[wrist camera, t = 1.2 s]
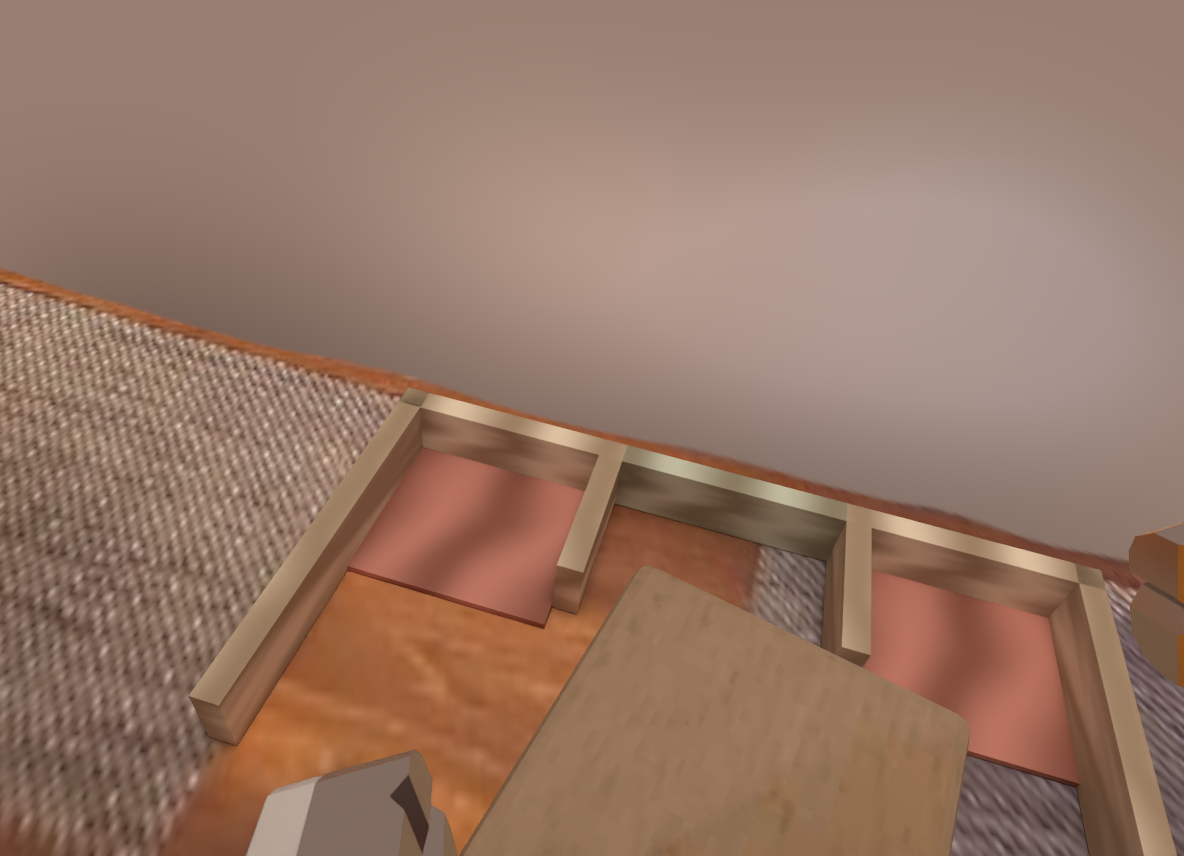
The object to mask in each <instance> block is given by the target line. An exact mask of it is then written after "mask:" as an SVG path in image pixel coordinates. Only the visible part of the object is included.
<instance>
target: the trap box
mask: <svg viewBox="0 0 1184 856" xmlns="http://www.w3.org/2000/svg"><path fill="white" fill-rule="evenodd" d="M614 504H618V505H622V506H625V507H629V508H632V509H636V510H640V511H643V512H647V513H651V514H654V515H658V516H662V517H665V518H669V519H673V520H676V521H680V522H684V523H687V524H691V525H694V526H698V527H702V528H705V529H709V530H713V531H716V532H720V533H724V534H727V535H731V536H735V537H738V538H742V539H746V540H749V541H753V542H756V543H760V544H764V545H767V546H771V547H775V548H778V549H782V550H786V551H789V552H793V553H797V554H800V555H804V556H808V557H811V558H815V559H819V560H822V561H826V574H825V591H824V608H823V624H822V641H821V648H823V649H825V650H827V651H829V652H831V653H833V654H835V655H837V656H839V657H841V658H843V659H845V660H847V661H849V662H851V663H854V664H856V665H858V666H860V667H862V668H864V669H866V670H868V671H870V672H872V673H874V674H876V675H878V676H880V677H882V678H884V679H887V680H889V681H891V682H893V683H895V684H897V685H899V686H901V687H903V688H905V689H907V690H909V691H911V692H913V693H915V694H918V695H920V696H922V697H924V698H926V699H928V700H930V701H932V702H934V703H936V704H938V705H940V706H942V707H944V708H946V709H949V710H951V711H953V712H955V713H957V714H958V715H960V716H961V717H962V718H963V719H964V720H965V721H966V722H967V723H968V727H969V746H968V752H967V755H970V756H973V757H977V758H980V759H983V760H987V761H990V762H993V763H997V764H1000V765H1003V766H1007V767H1010V768H1013V769H1017V770H1020V771H1024V772H1027V773H1030V774H1034V775H1037V776H1040V777H1044V778H1047V779H1050V780H1054V781H1057V782H1060V783H1064V784H1067V785H1070V786H1074V787H1077V793H1078V798H1079V803H1080V808H1081V814H1082V819H1083V824H1084V830H1085V835H1086V840H1087V845H1088V851H1089V856H1177V853H1176V850H1175V846H1174V842H1173V839H1172V835H1171V831H1170V827H1169V824H1168V820H1167V816H1166V812H1165V809H1164V805H1163V801H1162V797H1161V794H1160V790H1159V786H1158V782H1157V779H1156V775H1155V771H1154V768H1153V764H1152V760H1151V756H1150V753H1149V749H1148V745H1147V741H1146V738H1145V734H1144V730H1143V726H1142V723H1141V719H1140V715H1139V711H1138V708H1137V704H1136V700H1135V696H1134V693H1133V689H1132V685H1131V682H1130V678H1129V674H1128V670H1127V667H1126V663H1125V659H1124V655H1123V652H1122V648H1121V644H1120V640H1119V637H1118V633H1117V629H1116V625H1115V622H1114V618H1113V614H1112V611H1111V607H1110V603H1109V599H1108V596H1107V592H1106V588H1105V584H1104V581H1103V577H1102V573H1101V570H1098V569H1094V568H1090V567H1086V566H1083V565H1079V564H1075V563H1071V562H1067V561H1064V560H1060V559H1056V558H1052V557H1048V556H1045V555H1041V554H1037V553H1033V552H1030V551H1026V550H1022V549H1018V548H1014V547H1011V546H1007V545H1003V544H999V543H995V542H992V541H988V540H984V539H980V538H977V537H973V536H969V535H965V534H961V533H958V532H954V531H950V530H946V529H942V528H939V527H935V526H931V525H927V524H924V523H920V522H916V521H912V520H908V519H905V518H901V517H897V516H893V515H889V514H886V513H882V512H878V511H874V510H871V509H867V508H863V507H859V506H855V505H852V504H848V503H844V502H840V501H836V500H833V499H829V498H825V497H821V496H817V495H814V494H810V493H806V492H802V491H799V490H795V489H791V488H787V487H783V486H780V485H776V484H772V483H768V482H764V481H761V480H757V479H753V478H749V477H746V476H742V475H738V474H734V473H730V472H727V471H723V470H719V469H715V468H711V467H708V466H704V465H700V464H696V463H693V462H689V461H685V460H681V459H677V458H674V457H670V456H666V455H662V454H658V453H655V452H651V451H647V450H643V449H640V448H636V447H632V446H628V445H624V444H621V443H617V442H613V441H609V440H605V439H602V438H598V437H594V436H590V435H587V434H583V433H579V432H575V431H571V430H568V429H564V428H560V427H556V426H552V425H549V424H545V423H541V422H537V421H533V420H530V419H526V418H522V417H518V416H515V415H511V414H507V413H503V412H499V411H496V410H492V409H488V408H484V407H480V406H477V405H473V404H469V403H465V402H462V401H458V400H454V399H450V398H446V397H443V396H439V395H435V394H431V393H427V392H424V391H420V390H416V389H412V388H408V389H407V390H406V392H405V393H404V395H403V396H402V397H401V399H400V400H399V402H398V403H397V404H396V406H395V407H394V409H393V410H392V411H391V413H390V414H389V416H388V417H387V418H386V420H385V421H384V423H383V424H382V425H381V427H380V428H379V430H378V431H377V432H376V434H375V435H374V437H373V438H372V439H371V441H370V442H369V444H368V445H367V446H366V448H365V449H364V451H363V452H362V453H361V455H360V456H359V458H358V459H357V460H356V462H355V463H354V465H353V466H352V467H351V469H350V470H349V472H348V473H347V474H346V476H345V477H344V479H343V480H342V481H341V483H340V484H339V486H338V487H337V488H336V490H335V491H334V493H333V494H332V496H331V497H330V498H329V500H328V501H327V503H326V504H325V505H324V507H323V508H322V510H321V511H320V512H319V514H318V515H317V517H316V518H315V519H314V521H313V522H312V524H311V525H310V526H309V528H308V529H307V531H306V532H305V533H304V535H303V536H302V538H301V539H300V540H299V542H298V543H297V545H296V546H295V547H294V549H293V550H292V552H291V553H290V554H289V556H288V557H287V559H286V560H285V561H284V563H283V564H282V566H281V567H280V568H279V570H278V571H277V573H276V574H275V575H274V577H273V578H272V580H271V581H270V582H269V584H268V585H267V587H266V588H265V589H264V591H263V592H262V594H261V595H260V596H259V598H258V599H257V601H256V602H255V603H254V605H253V606H252V608H251V609H250V610H249V612H248V613H247V615H246V616H245V617H244V619H243V620H242V622H241V623H240V624H239V626H238V627H237V629H236V630H235V631H234V633H233V634H232V636H231V637H230V639H229V640H228V641H227V643H226V644H225V646H224V647H223V648H222V650H221V651H220V653H219V654H218V655H217V657H216V658H215V660H214V661H213V662H212V664H211V665H210V667H209V668H208V669H207V671H206V672H205V674H204V675H203V676H202V678H201V679H200V681H199V682H198V683H197V685H196V686H195V688H194V689H193V690H192V692H191V693H190V695H189V698H190V700H191V702H192V704H193V706H194V708H195V710H196V712H197V714H198V716H199V718H200V720H201V722H202V724H203V726H204V728H205V730H206V732H207V734H208V736H209V737H211V738H214V739H217V740H220V741H223V742H226V743H229V744H232V745H235V746H237V745H238V744H239V742H240V740H241V739H242V737H243V736H244V734H245V732H246V731H247V729H248V728H249V726H250V724H251V723H252V721H253V720H254V718H255V717H256V715H257V713H258V712H259V710H260V709H261V707H262V705H263V704H264V702H265V701H266V699H267V698H268V696H269V694H270V693H271V691H272V690H273V688H274V686H275V685H276V683H277V682H278V680H279V678H280V677H281V675H282V674H283V672H284V671H285V669H286V667H287V666H288V664H289V663H290V661H291V659H292V658H293V656H294V655H295V653H296V652H297V650H298V648H299V647H300V645H301V644H302V642H303V640H304V639H305V637H306V636H307V634H308V632H309V631H310V629H311V628H312V626H313V625H314V623H315V621H316V620H317V618H318V617H319V615H320V613H321V612H322V610H323V609H324V607H325V606H326V604H327V602H328V601H329V599H330V598H331V596H332V594H333V593H334V591H335V590H336V588H337V586H338V585H339V583H340V582H341V580H342V579H343V577H344V575H345V574H346V572H347V571H348V570H349V571H352V572H356V573H359V574H362V575H366V576H369V577H373V578H376V579H379V580H383V581H386V582H389V583H393V584H396V585H399V586H403V587H406V588H409V589H413V590H416V591H420V592H423V593H426V594H430V595H433V596H436V597H440V598H443V599H446V600H450V601H453V602H456V603H460V604H463V605H467V606H470V607H473V608H477V609H480V610H483V611H487V612H490V613H493V614H497V615H500V616H503V617H507V618H510V619H513V620H517V621H520V622H524V623H527V624H530V625H534V626H537V627H540V628H544V627H545V624H546V621H547V619H548V616H549V613H550V611H551V608H552V607H553V608H556V609H560V610H563V611H567V612H570V613H573V614H577V612H578V609H579V606H580V603H581V600H582V597H583V594H584V591H585V588H586V585H587V582H588V579H589V576H590V574H591V571H592V568H593V565H594V562H595V559H596V556H597V553H598V550H599V547H600V544H601V541H602V538H603V535H604V532H605V529H606V526H607V523H608V521H609V518H610V515H611V512H612V509H613V506H614Z"/></svg>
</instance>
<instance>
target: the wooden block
mask: <svg viewBox="0 0 1184 856" xmlns="http://www.w3.org/2000/svg"><path fill="white" fill-rule="evenodd" d="M968 746H969V727H968V723H967V722H966V721H965V720H964V719H963V718H962V717H961V716H960V715H958V714H957V713H955V712H953V711H951V710H949V709H946V708H944V707H942V706H940V705H938V704H936V703H934V702H932V701H930V700H928V699H926V698H924V697H922V696H920V695H918V694H915V693H913V692H911V691H909V690H907V689H905V688H903V687H901V686H899V685H897V684H895V683H893V682H891V681H889V680H887V679H884V678H882V677H880V676H878V675H876V674H874V673H872V672H870V671H868V670H866V669H864V668H862V667H860V666H858V665H856V664H854V663H851V662H849V661H847V660H845V659H843V658H841V657H839V656H837V655H835V654H833V653H831V652H829V651H827V650H825V649H823V648H820V647H818V646H816V645H814V644H812V643H810V642H808V641H806V640H804V639H802V638H800V637H798V636H796V635H794V634H792V633H789V632H787V631H785V630H783V629H781V628H779V627H777V626H775V625H773V624H771V623H769V622H767V621H765V620H763V619H761V618H758V617H756V616H754V615H752V614H750V613H748V612H746V611H744V610H742V609H740V608H738V607H736V606H734V605H732V604H730V603H728V602H725V601H723V600H721V599H719V598H717V597H715V596H713V595H711V594H709V593H707V592H705V591H703V590H701V589H699V588H697V587H694V586H692V585H690V584H688V583H686V582H684V581H682V580H680V579H678V578H676V577H674V576H672V575H670V574H668V573H666V572H663V571H661V570H659V569H657V568H655V567H650V566H644V567H642V568H641V569H640V570H639V571H637V572H636V573H635V574H634V575H633V576H632V577H631V579H630V581H629V582H628V584H627V586H626V587H625V589H624V590H623V592H622V594H621V595H620V597H619V598H618V600H617V602H616V603H615V605H614V607H613V608H612V610H611V611H610V613H609V615H608V616H607V618H606V619H605V621H604V623H603V624H602V626H601V628H600V629H599V631H598V632H597V634H596V636H595V637H594V639H593V640H592V642H591V644H590V645H589V647H588V649H587V650H586V652H585V653H584V655H583V657H582V658H581V660H580V661H579V663H578V665H577V666H576V668H575V670H574V671H573V673H572V674H571V676H570V678H569V679H568V681H567V682H566V684H565V686H564V687H563V689H562V691H561V692H560V694H559V695H558V697H557V699H556V700H555V702H554V703H553V705H552V707H551V708H550V710H549V712H548V713H547V715H546V716H545V718H544V720H543V721H542V723H541V724H540V726H539V728H538V729H537V731H536V733H535V734H534V736H533V737H532V739H531V741H530V742H529V744H528V745H527V747H526V749H525V750H524V752H523V754H522V755H521V757H520V758H519V760H518V762H517V763H516V765H515V766H514V768H513V770H512V771H511V773H510V775H509V776H508V778H507V779H506V781H505V783H504V784H503V786H502V787H501V789H500V791H499V792H498V794H497V796H496V797H495V799H494V800H493V802H492V804H491V805H490V807H489V808H488V810H487V812H486V813H485V815H484V817H483V818H482V820H481V821H480V823H479V825H478V826H477V828H476V829H475V831H474V833H473V834H472V836H471V838H470V839H469V841H468V842H467V844H466V846H465V847H464V849H463V850H462V852H461V854H460V855H459V856H950V853H951V847H952V841H953V835H954V829H955V823H956V817H957V811H958V805H959V799H960V793H961V787H962V781H963V775H964V769H965V764H966V758H967V752H968Z"/></svg>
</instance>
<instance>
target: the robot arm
mask: <svg viewBox="0 0 1184 856" xmlns="http://www.w3.org/2000/svg"><path fill="white" fill-rule="evenodd" d="M1129 571H1130V572H1131V573H1132V574H1133V575H1134V576H1135V577H1136V578H1137V579H1138V580H1139V581H1140V582H1141V583H1142V585H1141V587H1140V589H1139V590H1138V592H1137V594H1136V596H1135V597H1134V599H1133V601H1132V603H1131V604H1130V613H1131V626H1132V632H1133V634H1134V636H1135V639H1136V641H1137V643H1138V645H1139V647H1140V649H1141V651H1142V653H1143V655H1144V656H1145V657H1146V658H1147V659H1148V660H1149V662H1150V663H1151V664H1152V665H1153V666H1154V667H1155V668H1156V669H1157V671H1158V672H1160V673H1161V674H1163V675H1164V676H1165V677H1167V678H1168V679H1169V680H1171V681H1172V682H1174V683H1175V684H1176V685H1178V686H1180V687H1184V522H1181V523H1178V524H1175V525H1171V526H1168V527H1165V528H1162V529H1158V530H1155V531H1152V532H1149V533H1145V534H1142V535H1139V536H1136V537H1135V538H1134V541H1133V543H1132V545H1131V547H1130V549H1129ZM431 791H432V778H431V776H430V773H429V771H428V768H427V766H426V764H425V761H424V759H423V756H422V755H421V754H420V753H419V752H418V751H416V750H411V751H408V752H404V753H401V754H397V755H393V756H390V757H386V758H382V759H379V760H375V761H371V762H368V763H364V764H360V765H357V766H353V767H349V768H346V769H342V770H338V771H335V772H331V773H327V774H324V775H323V776H322V777H321V776H317V777H314V778H310V779H307V780H303V781H300V782H297V783H293V784H290V785H286V786H283V787H280V788H276V789H275V790H274V791H273V792H272V793H271V794H269V795H268V796H267V798H266V800H265V803H264V805H263V808H262V811H261V814H260V817H259V820H258V822H257V825H256V828H255V831H254V834H253V837H252V839H251V842H250V845H249V848H248V851H247V854H246V856H457V852H456V848H455V844H454V840H453V836H452V832H451V829H450V826H449V824H448V821H447V818H446V815H445V813H444V812H442V811H440V810H439V809H437V808H435V807H434V806H432V805H431Z"/></svg>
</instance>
